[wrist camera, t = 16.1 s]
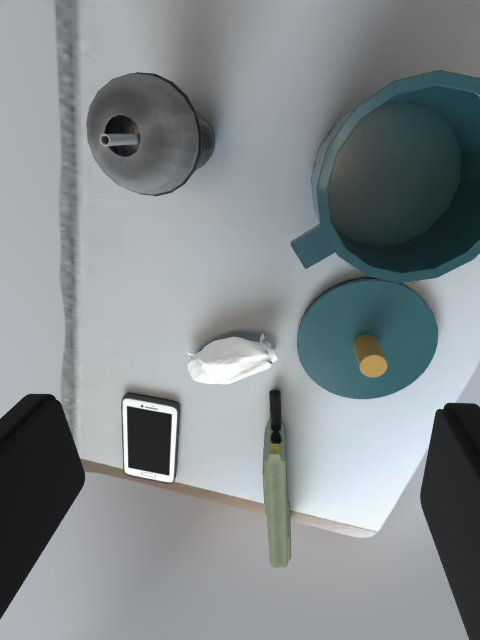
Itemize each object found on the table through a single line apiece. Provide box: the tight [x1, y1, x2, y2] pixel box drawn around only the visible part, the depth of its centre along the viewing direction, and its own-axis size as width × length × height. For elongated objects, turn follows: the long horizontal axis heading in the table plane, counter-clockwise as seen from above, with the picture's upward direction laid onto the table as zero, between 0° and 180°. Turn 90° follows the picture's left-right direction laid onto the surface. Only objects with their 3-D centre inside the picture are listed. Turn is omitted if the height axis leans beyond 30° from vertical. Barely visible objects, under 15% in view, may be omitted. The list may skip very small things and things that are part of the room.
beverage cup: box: [86, 72, 215, 196], centre depth 25 cm, size 7×7×20 cm
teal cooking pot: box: [291, 70, 480, 283], centre depth 29 cm, size 14×19×9 cm
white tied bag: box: [187, 333, 277, 384], centre depth 41 cm, size 5×7×10 cm
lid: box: [297, 278, 438, 399], centre depth 38 cm, size 15×15×6 cm
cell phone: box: [121, 394, 180, 484], centre depth 50 cm, size 8×15×1 cm, turn 173°
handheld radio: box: [262, 390, 291, 567], centre depth 47 cm, size 7×3×25 cm
